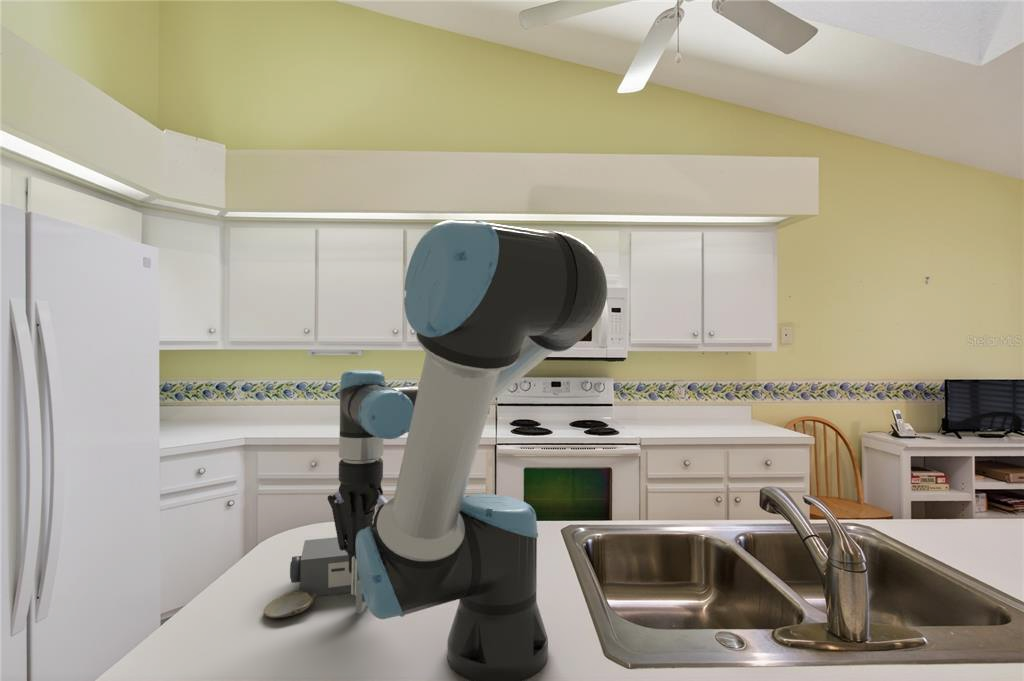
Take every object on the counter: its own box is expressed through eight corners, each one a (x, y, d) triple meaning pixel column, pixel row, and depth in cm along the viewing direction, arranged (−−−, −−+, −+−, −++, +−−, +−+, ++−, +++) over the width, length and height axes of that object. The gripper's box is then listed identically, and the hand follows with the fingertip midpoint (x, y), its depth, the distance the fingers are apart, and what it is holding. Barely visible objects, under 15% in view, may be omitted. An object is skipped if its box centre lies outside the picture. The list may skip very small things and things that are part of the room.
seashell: (277, 612, 98) (254, 625, 90) (276, 594, 99) (254, 605, 91) (322, 605, 98) (303, 617, 90) (321, 587, 99) (302, 597, 91)
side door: (383, 584, 103) (383, 558, 103) (364, 613, 92) (364, 583, 92) (375, 584, 103) (375, 558, 103) (355, 613, 92) (355, 583, 92)
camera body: (390, 587, 104) (390, 547, 104) (288, 600, 99) (288, 557, 99) (387, 566, 113) (387, 529, 113) (293, 576, 108) (293, 537, 108)
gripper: (403, 458, 97) (401, 589, 97) (346, 450, 102) (344, 576, 102) (377, 467, 90) (374, 609, 90) (317, 458, 95) (315, 593, 95)
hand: (358, 591), depth 96 cm, fingers closed
